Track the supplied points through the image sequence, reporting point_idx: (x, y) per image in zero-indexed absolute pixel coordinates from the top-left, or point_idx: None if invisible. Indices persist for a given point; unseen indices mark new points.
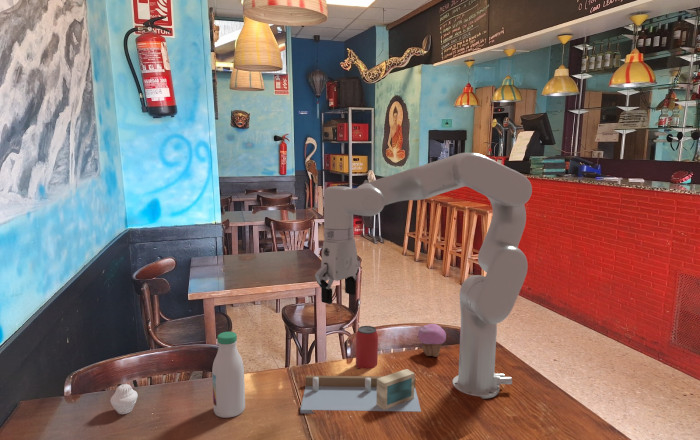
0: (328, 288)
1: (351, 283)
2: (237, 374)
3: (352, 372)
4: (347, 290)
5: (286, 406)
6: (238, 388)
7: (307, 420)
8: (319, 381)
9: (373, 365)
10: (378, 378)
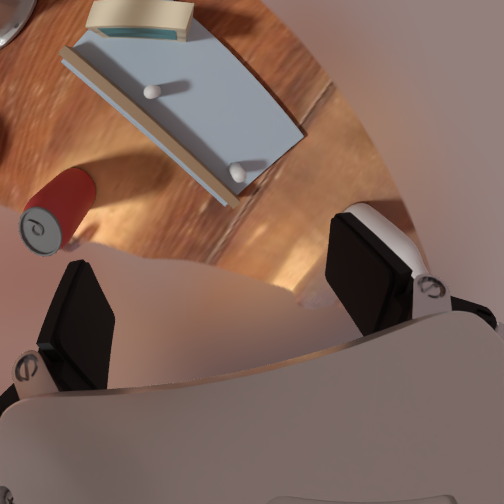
0: (420, 283)
1: (76, 338)
2: (398, 234)
3: (113, 187)
4: (105, 316)
5: (300, 170)
6: (383, 221)
7: (308, 110)
8: (218, 179)
9: (70, 170)
10: (181, 28)
